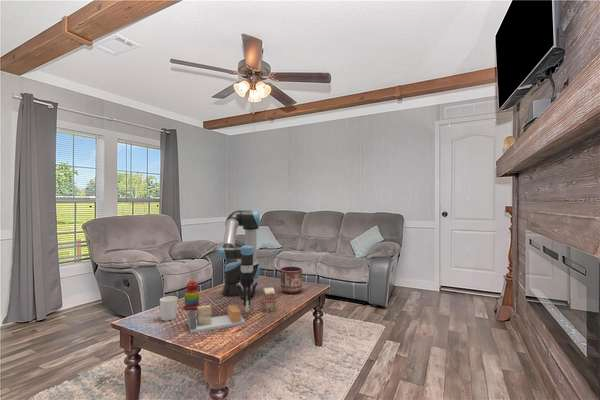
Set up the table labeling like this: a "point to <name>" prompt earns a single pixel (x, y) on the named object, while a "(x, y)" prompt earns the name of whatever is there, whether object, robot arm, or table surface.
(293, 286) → the pottery
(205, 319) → the maple block
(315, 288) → the table surface
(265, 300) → the stack of blocks
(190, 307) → the stacking bear
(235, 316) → the block
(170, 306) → the candle holder
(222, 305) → the table surface
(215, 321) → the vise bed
